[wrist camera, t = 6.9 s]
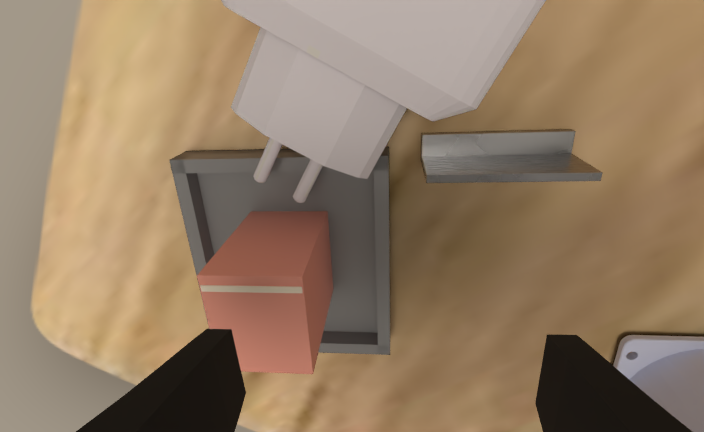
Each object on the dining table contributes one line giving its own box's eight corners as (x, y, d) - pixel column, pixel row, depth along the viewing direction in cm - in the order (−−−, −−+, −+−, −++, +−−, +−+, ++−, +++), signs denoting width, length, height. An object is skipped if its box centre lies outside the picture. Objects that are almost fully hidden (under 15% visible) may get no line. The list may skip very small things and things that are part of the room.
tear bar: (566, 158, 16) (600, 180, 14) (421, 160, 17) (426, 182, 14) (571, 129, 16) (608, 146, 13) (421, 133, 17) (427, 150, 14)
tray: (390, 334, 21) (390, 354, 20) (225, 329, 22) (214, 348, 21) (388, 146, 17) (388, 155, 16) (186, 151, 18) (169, 160, 17)
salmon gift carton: (333, 289, 20) (312, 374, 14) (263, 287, 20) (218, 371, 15) (327, 211, 18) (301, 277, 13) (250, 211, 18) (196, 276, 13)
